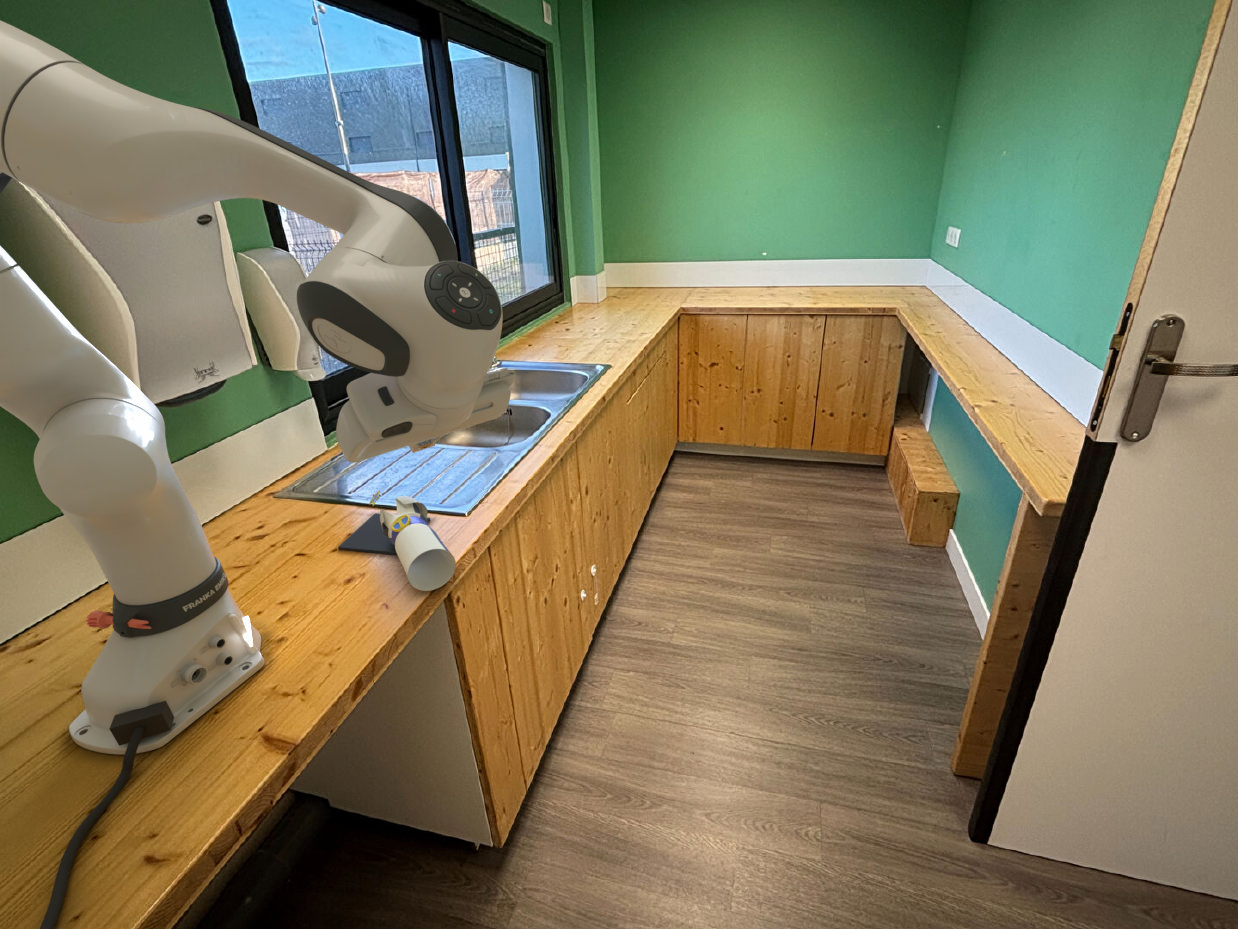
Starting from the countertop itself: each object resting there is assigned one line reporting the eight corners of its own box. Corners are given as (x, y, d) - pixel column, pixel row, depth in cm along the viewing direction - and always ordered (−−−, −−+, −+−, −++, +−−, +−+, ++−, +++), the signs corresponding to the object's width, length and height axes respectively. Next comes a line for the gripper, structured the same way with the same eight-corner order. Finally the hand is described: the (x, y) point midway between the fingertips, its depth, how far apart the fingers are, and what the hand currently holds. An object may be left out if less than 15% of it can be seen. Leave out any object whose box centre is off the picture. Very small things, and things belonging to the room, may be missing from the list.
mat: (398, 555, 107) (397, 552, 106) (338, 549, 109) (337, 547, 109) (430, 520, 117) (430, 517, 117) (375, 515, 120) (374, 513, 119)
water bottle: (441, 535, 94) (399, 472, 113) (395, 570, 92) (359, 499, 111) (468, 566, 99) (423, 501, 118) (424, 600, 97) (386, 528, 116)
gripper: (507, 344, 72) (482, 403, 83) (330, 387, 61) (329, 448, 72) (531, 387, 71) (503, 441, 82) (356, 439, 59) (351, 493, 71)
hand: (420, 445), depth 77 cm, fingers closed
